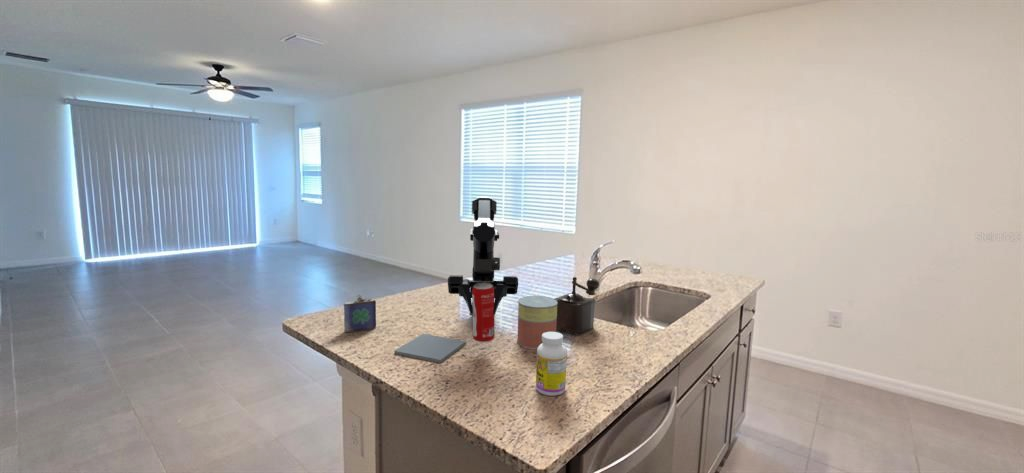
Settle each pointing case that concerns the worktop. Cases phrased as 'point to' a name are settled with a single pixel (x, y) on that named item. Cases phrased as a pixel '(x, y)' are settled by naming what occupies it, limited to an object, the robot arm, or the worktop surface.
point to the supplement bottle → (551, 365)
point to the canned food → (535, 319)
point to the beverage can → (483, 312)
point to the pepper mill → (576, 309)
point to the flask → (359, 315)
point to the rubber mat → (430, 348)
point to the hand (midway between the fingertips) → (482, 313)
